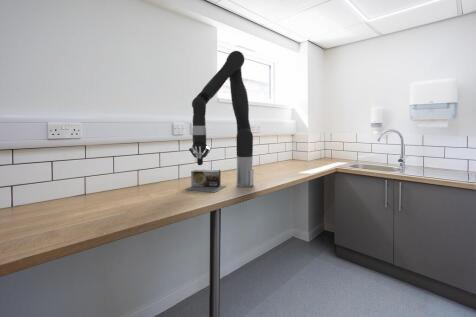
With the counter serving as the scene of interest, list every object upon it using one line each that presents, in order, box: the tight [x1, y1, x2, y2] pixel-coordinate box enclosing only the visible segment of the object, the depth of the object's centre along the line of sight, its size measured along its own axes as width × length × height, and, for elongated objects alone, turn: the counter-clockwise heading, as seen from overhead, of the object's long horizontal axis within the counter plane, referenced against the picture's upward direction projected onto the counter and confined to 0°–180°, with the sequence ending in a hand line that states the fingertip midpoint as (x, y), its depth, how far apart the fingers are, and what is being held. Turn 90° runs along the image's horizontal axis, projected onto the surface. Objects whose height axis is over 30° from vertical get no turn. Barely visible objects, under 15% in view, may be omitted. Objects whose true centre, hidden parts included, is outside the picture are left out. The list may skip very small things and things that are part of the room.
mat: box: [185, 185, 227, 193], centre depth 147 cm, size 18×15×1 cm
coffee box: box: [190, 169, 222, 187], centre depth 151 cm, size 9×6×16 cm
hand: (200, 165), depth 147 cm, fingers closed
